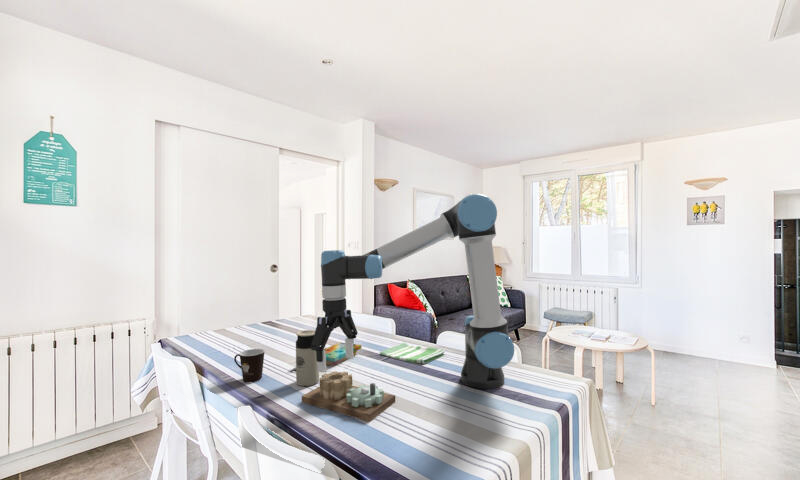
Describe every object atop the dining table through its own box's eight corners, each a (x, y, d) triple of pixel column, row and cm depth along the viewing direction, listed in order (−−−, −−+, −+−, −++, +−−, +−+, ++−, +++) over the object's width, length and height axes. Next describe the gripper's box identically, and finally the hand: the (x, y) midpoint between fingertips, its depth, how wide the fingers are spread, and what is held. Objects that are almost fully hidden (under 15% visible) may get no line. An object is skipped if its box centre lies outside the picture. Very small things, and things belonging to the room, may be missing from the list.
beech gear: (358, 389, 117) (358, 374, 117) (338, 402, 108) (338, 385, 108) (334, 384, 122) (333, 369, 122) (313, 395, 113) (312, 379, 113)
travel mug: (311, 376, 135) (311, 328, 135) (323, 382, 129) (322, 332, 129) (292, 382, 129) (291, 332, 129) (303, 388, 123) (302, 336, 124)
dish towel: (404, 346, 173) (404, 340, 173) (446, 355, 158) (445, 349, 158) (379, 356, 159) (379, 349, 159) (422, 366, 144) (422, 360, 144)
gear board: (395, 401, 112) (395, 382, 112) (370, 421, 100) (369, 400, 100) (331, 386, 125) (330, 369, 125) (301, 402, 113) (301, 383, 113)
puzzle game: (311, 352, 150) (340, 340, 168) (312, 363, 150) (340, 350, 168) (334, 356, 144) (361, 343, 162) (335, 367, 144) (361, 353, 162)
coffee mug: (269, 378, 133) (268, 351, 133) (246, 385, 127) (245, 357, 127) (254, 371, 141) (254, 346, 141) (232, 377, 135) (232, 351, 135)
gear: (390, 395, 111) (390, 379, 111) (370, 410, 102) (369, 393, 102) (361, 388, 117) (360, 373, 117) (339, 402, 107) (338, 385, 107)
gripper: (348, 292, 128) (351, 351, 128) (296, 304, 106) (299, 376, 106) (366, 293, 124) (368, 354, 124) (315, 305, 102) (318, 380, 102)
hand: (336, 364), depth 115 cm, fingers open, 13 cm apart
